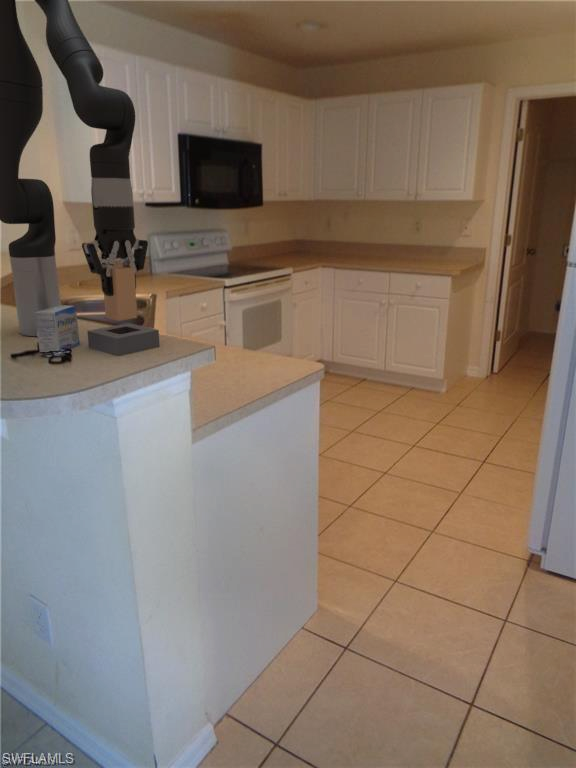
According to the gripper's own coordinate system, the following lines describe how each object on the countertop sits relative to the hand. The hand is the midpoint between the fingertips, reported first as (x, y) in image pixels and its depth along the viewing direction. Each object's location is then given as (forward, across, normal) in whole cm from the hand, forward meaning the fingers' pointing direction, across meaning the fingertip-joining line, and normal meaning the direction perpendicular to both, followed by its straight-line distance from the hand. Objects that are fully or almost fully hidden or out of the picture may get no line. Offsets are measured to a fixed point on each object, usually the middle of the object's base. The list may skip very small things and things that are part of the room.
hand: (119, 293), depth 112 cm
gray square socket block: (+11, 0, 0) cm, 11 cm away
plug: (+5, 0, 0) cm, 5 cm away
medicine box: (+12, +9, -9) cm, 17 cm away
